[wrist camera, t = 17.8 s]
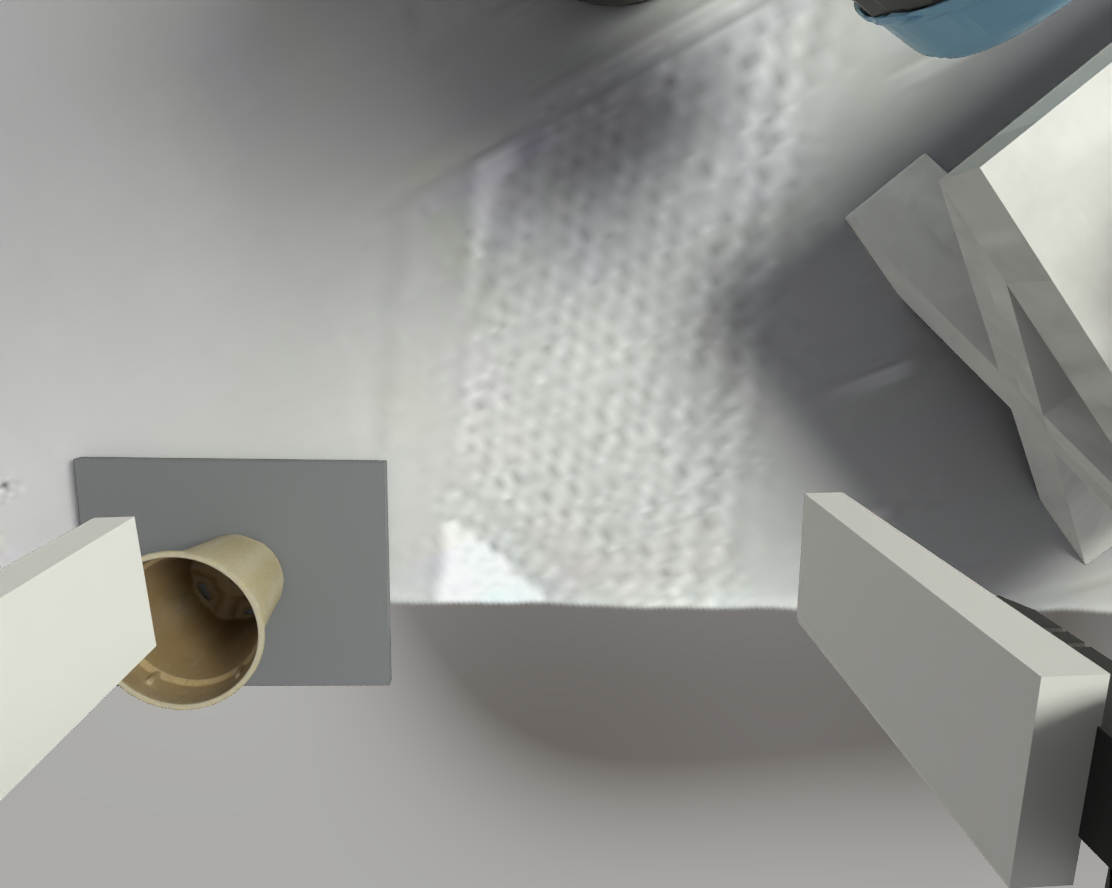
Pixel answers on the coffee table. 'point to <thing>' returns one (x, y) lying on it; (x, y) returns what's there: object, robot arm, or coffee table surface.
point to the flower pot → (205, 621)
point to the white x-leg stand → (1023, 283)
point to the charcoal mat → (274, 547)
